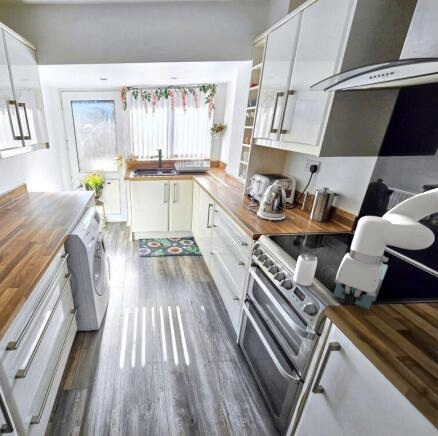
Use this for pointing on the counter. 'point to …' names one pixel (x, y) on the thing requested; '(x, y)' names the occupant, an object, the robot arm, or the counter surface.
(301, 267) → the can
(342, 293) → the drawer
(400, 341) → the counter surface
